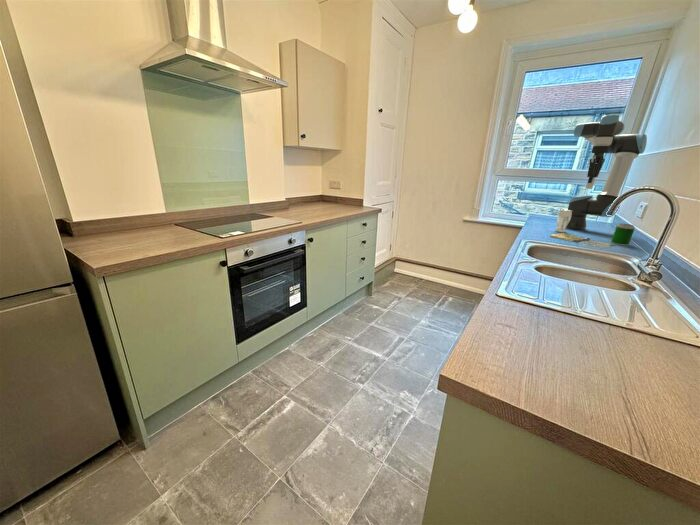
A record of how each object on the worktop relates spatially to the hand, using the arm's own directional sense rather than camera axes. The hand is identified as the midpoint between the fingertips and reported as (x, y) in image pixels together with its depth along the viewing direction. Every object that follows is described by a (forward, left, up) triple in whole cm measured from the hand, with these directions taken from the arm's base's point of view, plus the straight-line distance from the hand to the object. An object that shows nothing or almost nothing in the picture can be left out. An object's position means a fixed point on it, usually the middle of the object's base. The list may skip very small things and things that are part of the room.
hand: (588, 188), depth 167 cm
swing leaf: (+14, +4, -29) cm, 32 cm away
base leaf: (+14, +16, -29) cm, 36 cm away
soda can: (-1, +22, -30) cm, 37 cm away
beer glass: (-4, -10, -30) cm, 32 cm away
